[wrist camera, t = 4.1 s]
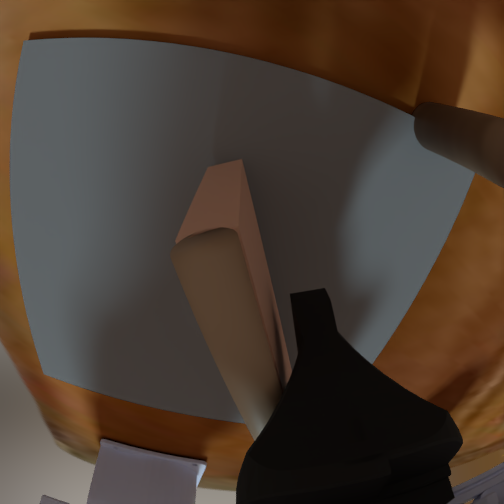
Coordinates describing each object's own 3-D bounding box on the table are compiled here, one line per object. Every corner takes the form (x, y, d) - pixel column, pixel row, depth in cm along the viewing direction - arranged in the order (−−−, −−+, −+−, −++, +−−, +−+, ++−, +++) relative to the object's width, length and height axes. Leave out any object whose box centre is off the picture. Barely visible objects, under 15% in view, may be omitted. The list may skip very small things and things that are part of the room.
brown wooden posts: (272, 415, 19) (280, 539, 11) (418, 94, 10) (621, 152, 2) (300, 417, 19) (315, 537, 12) (454, 114, 10) (637, 191, 2)
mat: (45, 370, 17) (43, 373, 17) (27, 41, 8) (23, 40, 8) (320, 425, 20) (321, 428, 20) (477, 152, 11) (481, 154, 11)
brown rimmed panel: (298, 401, 17) (312, 502, 11) (278, 404, 17) (287, 505, 12) (242, 158, 11) (237, 254, 5) (207, 167, 11) (163, 269, 5)
